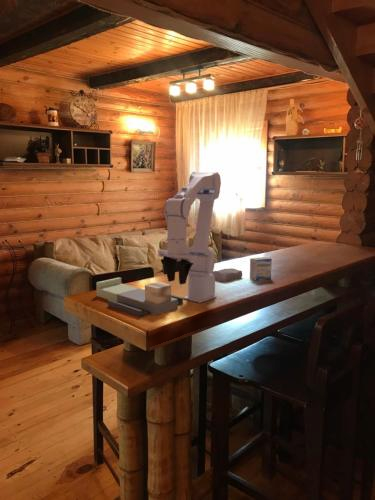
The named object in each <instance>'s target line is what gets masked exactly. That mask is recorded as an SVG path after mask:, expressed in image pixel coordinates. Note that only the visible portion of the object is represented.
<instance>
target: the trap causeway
mask: <svg viewBox="0 0 375 500" xmlns="http://www.w3.org/2000/svg"><path fill="white" fill-rule="evenodd" d="M95 285H96V296H97V297H98V298H101V299H104V300H107V307H110V308H111V309H115V310H117V311H120V312H123V313H126V314H129V315H132V316H135V317H138V318H143V317H145V316H149V315H153V316H157V315H162V314H164V313H166V312H170V311H173V310H176V309H178V308H179V306H180V305H183V303H184V298H183V297H181V296H177V295H174V294H171V300H169V301H166V302H163V303H159V304H156V303H153V302H150V301H146V300H145V289H143V288H140V287H137V286H132V285H129V284H126V283H122V277H114V278H111V279H106V280H102V281H97V282H96V284H95Z"/></svg>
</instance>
